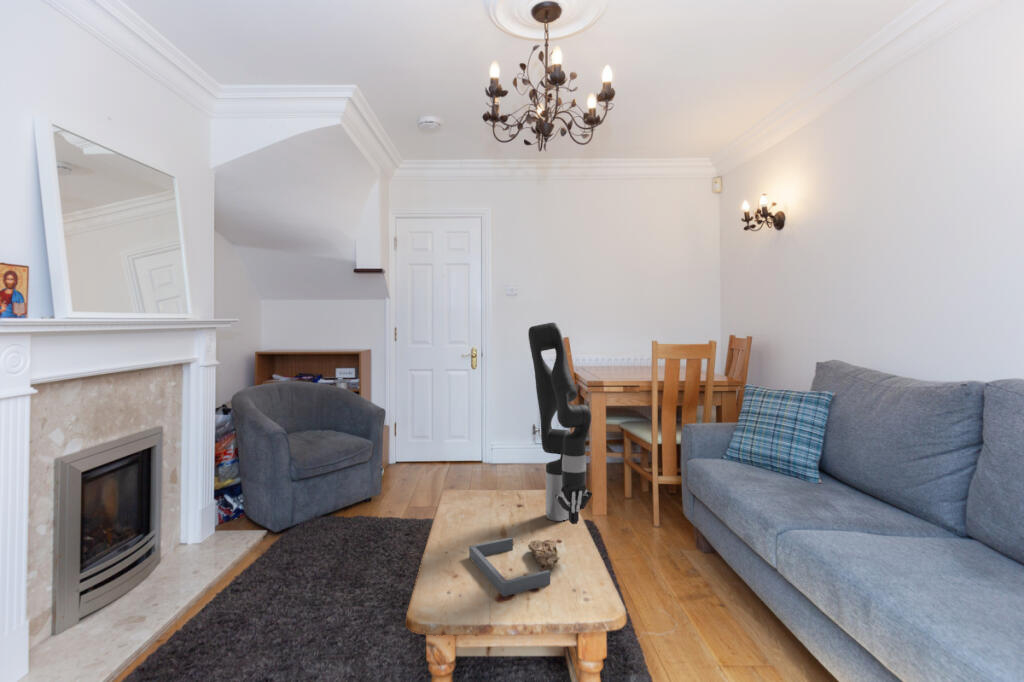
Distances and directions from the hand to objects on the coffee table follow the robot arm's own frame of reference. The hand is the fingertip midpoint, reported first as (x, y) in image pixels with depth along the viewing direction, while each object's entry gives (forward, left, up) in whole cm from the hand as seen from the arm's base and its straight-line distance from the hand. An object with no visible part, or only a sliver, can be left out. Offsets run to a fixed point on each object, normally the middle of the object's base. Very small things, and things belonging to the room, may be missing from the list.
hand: (573, 523), depth 151 cm
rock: (+9, 0, -10) cm, 14 cm away
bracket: (+23, 0, -10) cm, 25 cm away
